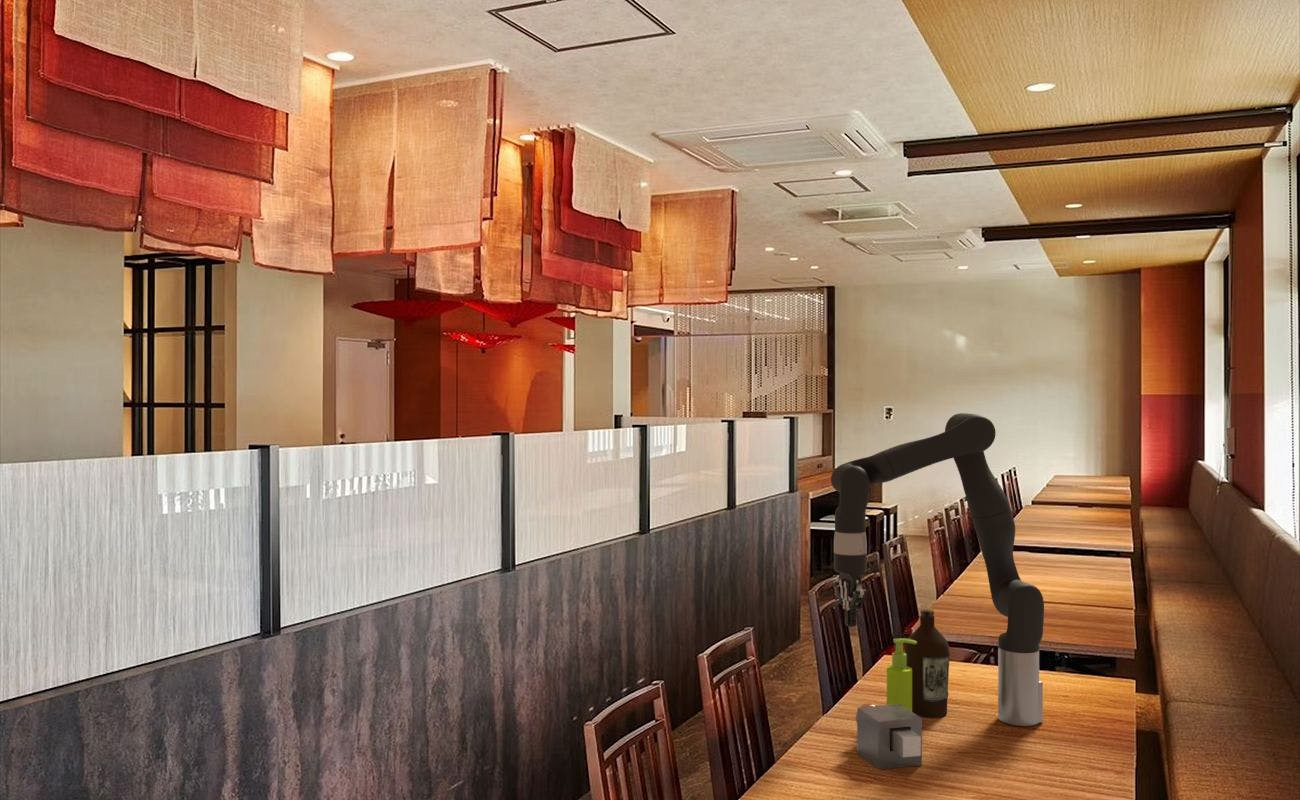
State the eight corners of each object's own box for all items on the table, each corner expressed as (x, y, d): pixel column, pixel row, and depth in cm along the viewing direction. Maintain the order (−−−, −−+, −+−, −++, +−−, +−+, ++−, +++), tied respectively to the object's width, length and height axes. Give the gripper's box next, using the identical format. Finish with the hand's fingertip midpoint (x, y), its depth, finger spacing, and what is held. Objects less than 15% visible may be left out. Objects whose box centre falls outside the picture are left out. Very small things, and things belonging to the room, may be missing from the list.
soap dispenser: (917, 728, 243) (917, 642, 243) (886, 726, 244) (887, 641, 244) (916, 720, 248) (916, 637, 248) (886, 718, 250) (886, 635, 250)
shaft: (880, 729, 233) (880, 702, 233) (925, 760, 214) (925, 731, 213) (855, 731, 231) (855, 704, 231) (898, 762, 212) (898, 733, 212)
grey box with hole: (899, 749, 229) (899, 703, 228) (921, 765, 219) (921, 717, 219) (857, 753, 226) (857, 707, 226) (878, 769, 216) (878, 721, 216)
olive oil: (896, 708, 258) (896, 607, 258) (934, 704, 261) (934, 604, 261) (919, 721, 248) (919, 616, 248) (958, 716, 251) (958, 613, 251)
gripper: (878, 554, 235) (878, 631, 235) (852, 546, 248) (853, 618, 248) (847, 556, 233) (847, 633, 233) (823, 547, 246) (823, 620, 246)
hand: (850, 625), depth 241 cm, fingers closed
